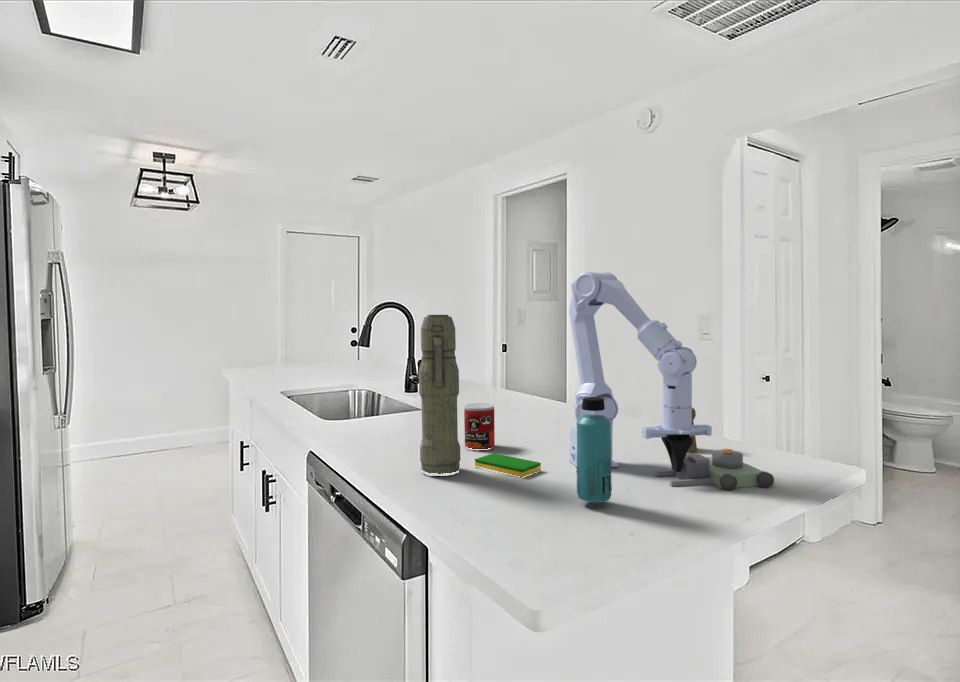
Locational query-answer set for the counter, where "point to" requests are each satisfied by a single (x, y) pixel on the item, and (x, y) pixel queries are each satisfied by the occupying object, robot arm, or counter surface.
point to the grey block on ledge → (694, 467)
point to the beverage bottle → (593, 453)
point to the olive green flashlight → (439, 396)
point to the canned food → (479, 426)
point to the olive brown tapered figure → (693, 447)
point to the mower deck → (726, 472)
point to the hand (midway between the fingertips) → (676, 470)
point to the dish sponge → (508, 464)
